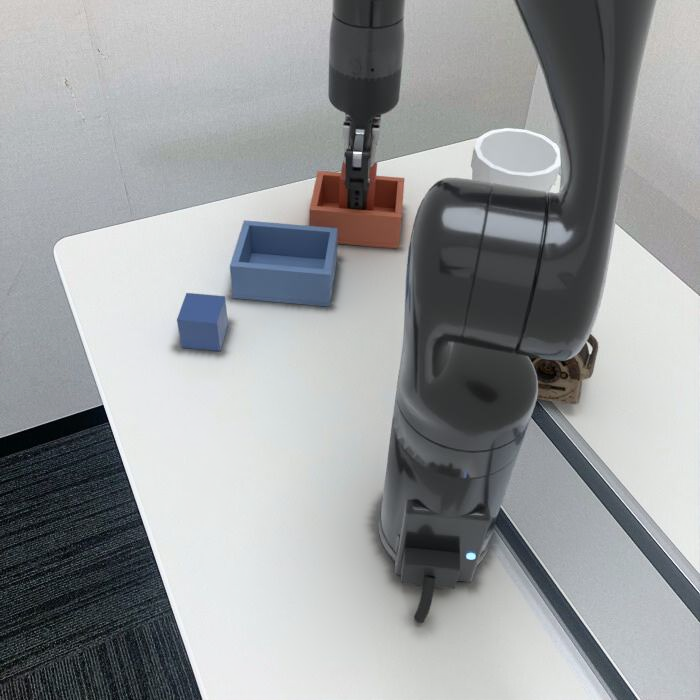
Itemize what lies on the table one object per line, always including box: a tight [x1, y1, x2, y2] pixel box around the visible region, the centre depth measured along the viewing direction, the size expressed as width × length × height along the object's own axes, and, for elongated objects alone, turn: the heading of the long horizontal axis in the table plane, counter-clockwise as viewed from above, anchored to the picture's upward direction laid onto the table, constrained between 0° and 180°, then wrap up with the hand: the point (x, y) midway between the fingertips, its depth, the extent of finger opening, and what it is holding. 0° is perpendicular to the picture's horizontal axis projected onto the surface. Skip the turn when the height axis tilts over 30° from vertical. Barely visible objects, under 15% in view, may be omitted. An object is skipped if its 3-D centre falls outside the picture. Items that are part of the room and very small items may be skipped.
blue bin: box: [229, 220, 338, 308], centre depth 83 cm, size 8×11×5 cm
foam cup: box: [470, 127, 561, 194], centre depth 85 cm, size 10×9×13 cm
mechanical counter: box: [528, 333, 599, 405], centre depth 74 cm, size 7×13×10 cm
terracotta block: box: [339, 159, 378, 211], centre depth 88 cm, size 4×4×4 cm
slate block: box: [176, 292, 229, 352], centre depth 77 cm, size 4×4×4 cm
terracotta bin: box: [308, 170, 405, 250], centre depth 90 cm, size 8×11×5 cm
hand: (358, 197), depth 89 cm, fingers closed on terracotta block, 4 cm apart
